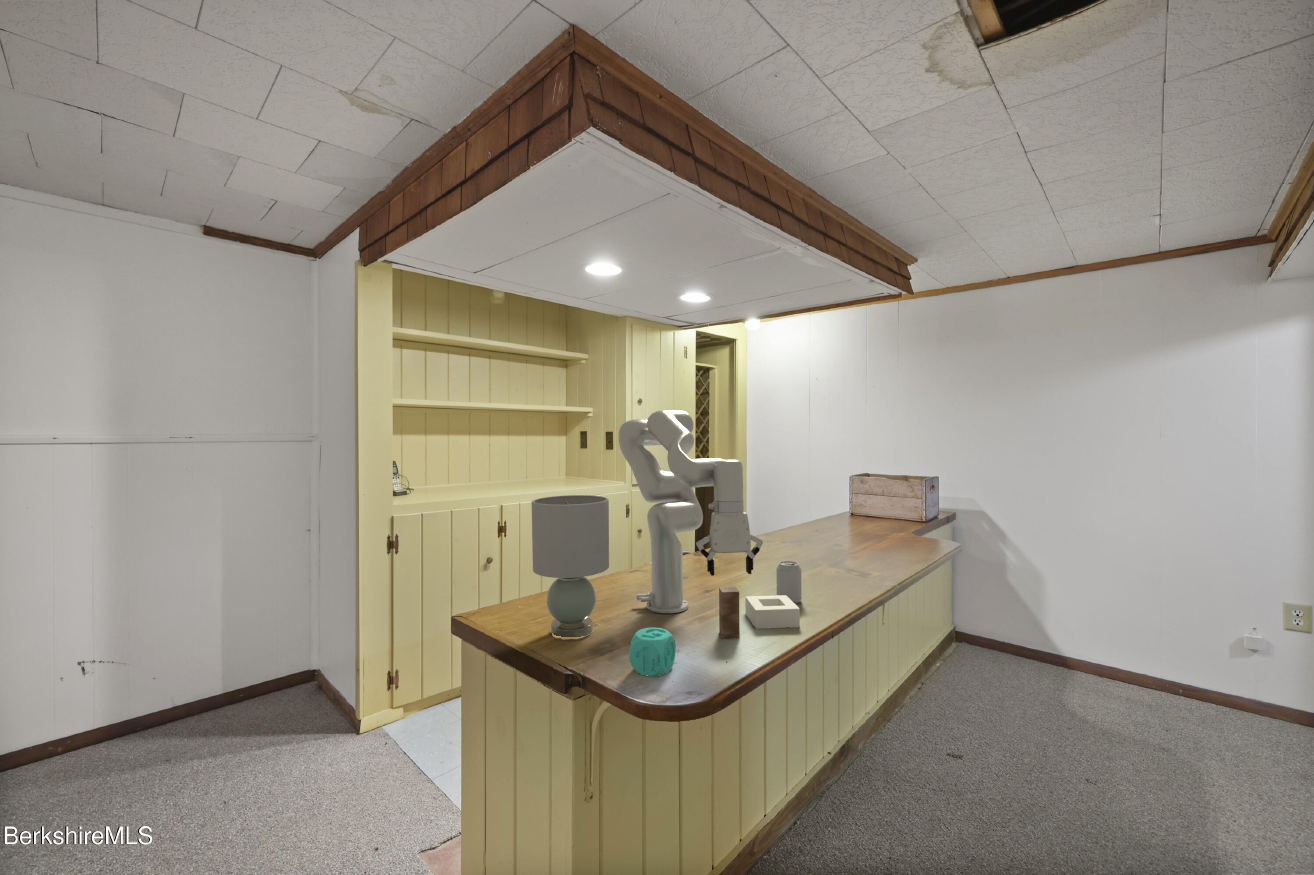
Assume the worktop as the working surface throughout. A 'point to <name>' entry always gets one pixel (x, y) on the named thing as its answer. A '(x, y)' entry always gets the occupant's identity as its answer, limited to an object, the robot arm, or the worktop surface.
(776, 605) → the socket block
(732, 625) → the peg
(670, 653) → the decorative dice
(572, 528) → the lamp
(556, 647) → the worktop surface
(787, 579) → the can
